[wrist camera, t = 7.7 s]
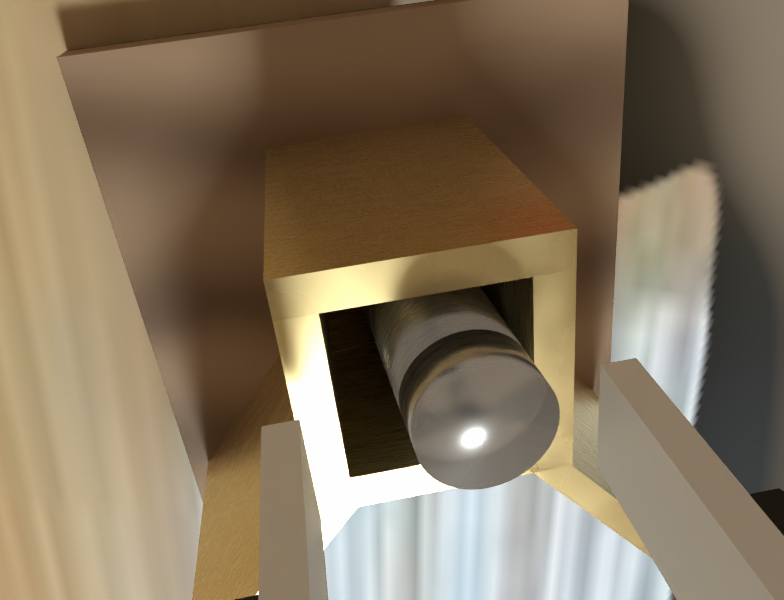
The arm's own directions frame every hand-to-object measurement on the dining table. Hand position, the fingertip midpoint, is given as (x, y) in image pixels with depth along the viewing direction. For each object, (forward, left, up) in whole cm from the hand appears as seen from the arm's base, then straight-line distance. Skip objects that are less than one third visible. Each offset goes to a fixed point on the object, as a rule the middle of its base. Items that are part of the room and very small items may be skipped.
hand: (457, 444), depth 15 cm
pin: (0, 0, -12) cm, 12 cm away
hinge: (+3, 0, -12) cm, 13 cm away
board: (+3, 0, -13) cm, 14 cm away
